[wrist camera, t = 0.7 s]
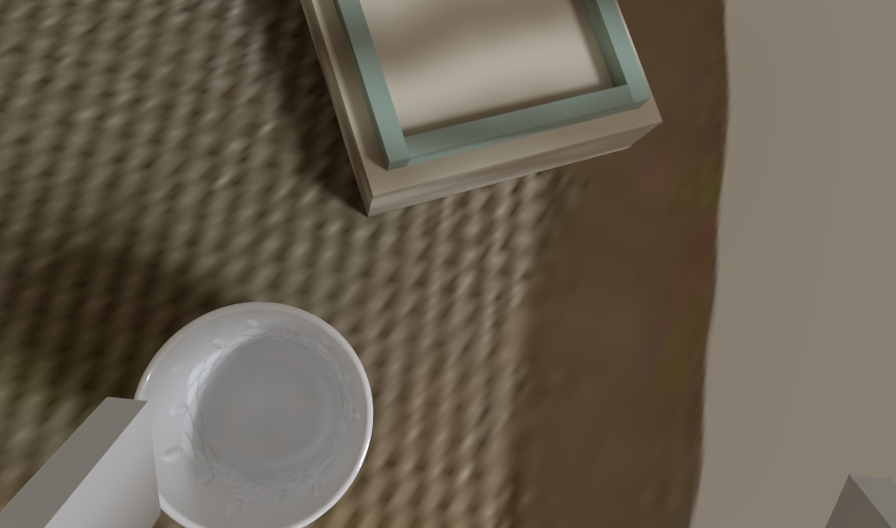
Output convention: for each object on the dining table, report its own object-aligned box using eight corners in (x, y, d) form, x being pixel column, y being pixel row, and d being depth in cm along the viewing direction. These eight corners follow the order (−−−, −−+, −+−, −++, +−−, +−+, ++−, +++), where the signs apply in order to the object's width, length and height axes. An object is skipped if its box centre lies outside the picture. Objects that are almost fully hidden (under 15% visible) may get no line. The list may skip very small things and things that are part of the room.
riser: (285, -49, 35) (278, -121, 30) (539, -89, 39) (571, -158, 34) (367, 217, 33) (375, 188, 28) (627, 148, 37) (674, 111, 32)
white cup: (169, 468, 29) (91, 512, 19) (224, 307, 31) (177, 274, 21) (333, 506, 30) (336, 566, 20) (376, 348, 32) (399, 335, 22)
